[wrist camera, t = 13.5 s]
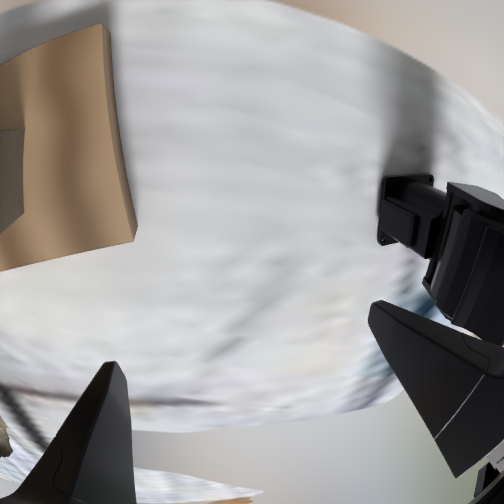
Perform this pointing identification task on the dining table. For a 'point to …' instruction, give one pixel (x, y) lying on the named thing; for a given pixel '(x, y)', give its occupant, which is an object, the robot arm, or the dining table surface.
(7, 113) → the walnut stand
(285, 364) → the dining table surface
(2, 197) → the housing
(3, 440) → the stone bowl
